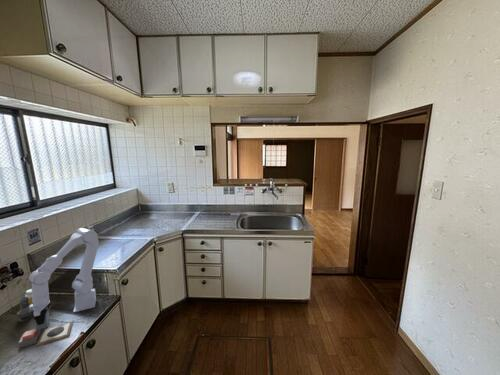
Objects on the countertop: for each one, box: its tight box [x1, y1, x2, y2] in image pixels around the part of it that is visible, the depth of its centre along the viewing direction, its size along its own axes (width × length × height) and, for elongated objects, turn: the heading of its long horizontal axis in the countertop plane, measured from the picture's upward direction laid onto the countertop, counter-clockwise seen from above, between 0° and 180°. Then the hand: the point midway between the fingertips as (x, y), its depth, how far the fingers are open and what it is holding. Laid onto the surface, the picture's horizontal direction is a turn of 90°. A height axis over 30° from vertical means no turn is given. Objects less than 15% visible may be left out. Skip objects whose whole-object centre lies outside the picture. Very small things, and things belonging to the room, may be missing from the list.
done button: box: [21, 328, 37, 340], centre depth 97 cm, size 4×4×2 cm
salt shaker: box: [16, 295, 34, 322], centre depth 110 cm, size 6×6×12 cm
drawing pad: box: [36, 321, 74, 347], centre depth 101 cm, size 11×10×1 cm
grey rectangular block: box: [34, 306, 50, 331], centre depth 105 cm, size 4×4×9 cm
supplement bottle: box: [24, 288, 33, 306], centre depth 119 cm, size 5×5×10 cm
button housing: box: [18, 329, 41, 349], centre depth 97 cm, size 6×6×3 cm
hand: (42, 320), depth 105 cm, fingers open, 4 cm apart
